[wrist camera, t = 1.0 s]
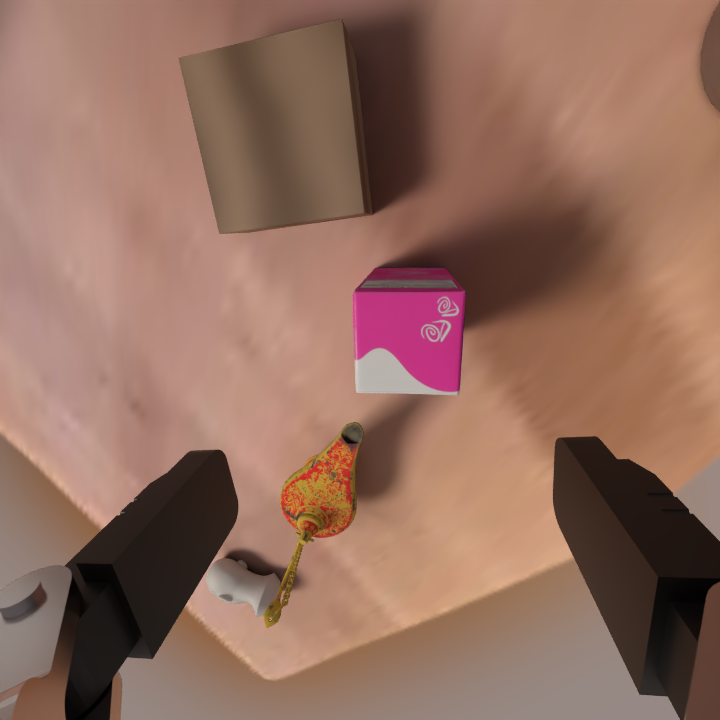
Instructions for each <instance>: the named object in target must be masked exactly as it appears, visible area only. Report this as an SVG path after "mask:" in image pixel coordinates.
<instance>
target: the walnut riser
mask: <svg viewBox="0 0 720 720" xmlns="http://www.w3.org/2000/svg"><path fill="white" fill-rule="evenodd" d="M179 62H180V66H181V71H182V75H183V79H184V84H185V88H186V92H187V97H188V101H189V105H190V109H191V114H192V118H193V122H194V127H195V131H196V135H197V140H198V144H199V148H200V152H201V157H202V161H203V165H204V170H205V174H206V178H207V183H208V187H209V191H210V195H211V200H212V204H213V208H214V213H215V217H216V221H217V226H218V230H219V234H226V233H248V232H255V231H263V230H270V229H277V228H284V227H291V226H298V225H305V224H312V223H319V222H326V221H333V220H340V219H347V218H354V217H361V216H368V215H373V210H372V201H371V192H370V183H369V173H368V164H367V155H366V146H365V137H364V127H363V118H362V109H361V100H360V90H359V81H358V72H357V63H356V54H355V52H354V49H353V47H352V44H351V41H350V39H349V36H348V33H347V31H346V28H345V26H344V23H343V20H342V19H339V20H335V21H331V22H326V23H322V24H318V25H314V26H310V27H306V28H302V29H297V30H293V31H289V32H285V33H281V34H277V35H272V36H268V37H264V38H260V39H256V40H252V41H247V42H243V43H239V44H235V45H231V46H227V47H222V48H218V49H214V50H210V51H206V52H202V53H198V54H193V55H189V56H185V57H181V58H179Z"/></svg>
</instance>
